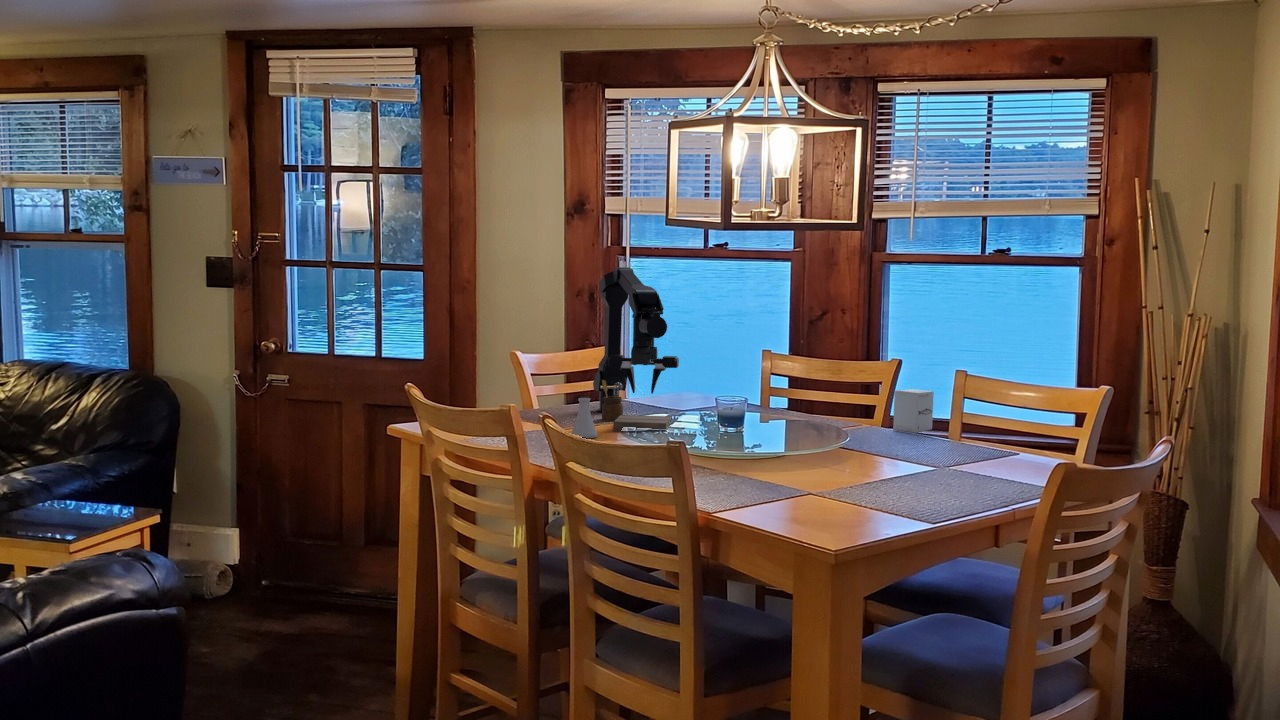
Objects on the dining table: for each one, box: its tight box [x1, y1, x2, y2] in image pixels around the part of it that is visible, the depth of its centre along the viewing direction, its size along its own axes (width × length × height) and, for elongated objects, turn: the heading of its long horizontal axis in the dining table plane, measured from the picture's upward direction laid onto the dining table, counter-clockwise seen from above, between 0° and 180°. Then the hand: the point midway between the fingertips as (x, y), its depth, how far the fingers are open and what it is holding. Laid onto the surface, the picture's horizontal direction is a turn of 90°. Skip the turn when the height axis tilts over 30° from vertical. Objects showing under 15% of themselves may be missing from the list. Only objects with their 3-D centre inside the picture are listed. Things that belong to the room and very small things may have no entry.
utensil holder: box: [601, 380, 624, 422], centre depth 321 cm, size 6×6×12 cm
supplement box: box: [892, 388, 934, 434], centre depth 296 cm, size 7×7×13 cm
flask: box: [571, 397, 598, 439], centre depth 293 cm, size 7×7×10 cm
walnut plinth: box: [612, 414, 672, 432], centre depth 310 cm, size 14×14×2 cm
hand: (643, 393), depth 309 cm, fingers open, 5 cm apart
